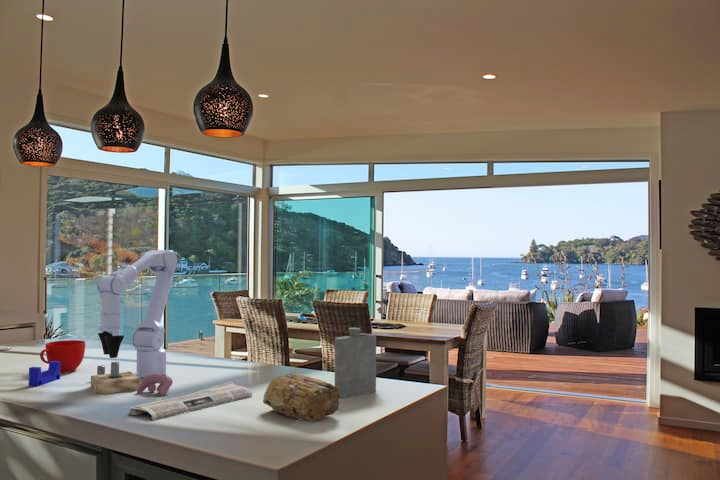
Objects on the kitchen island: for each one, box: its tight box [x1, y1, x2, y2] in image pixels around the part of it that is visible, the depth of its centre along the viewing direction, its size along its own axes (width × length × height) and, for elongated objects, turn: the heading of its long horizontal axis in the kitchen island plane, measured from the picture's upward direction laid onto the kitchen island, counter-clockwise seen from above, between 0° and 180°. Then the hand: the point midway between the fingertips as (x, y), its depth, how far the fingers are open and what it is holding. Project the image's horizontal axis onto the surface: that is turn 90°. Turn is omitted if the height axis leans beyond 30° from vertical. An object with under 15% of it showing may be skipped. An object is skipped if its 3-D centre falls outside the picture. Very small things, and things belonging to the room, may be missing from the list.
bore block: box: [90, 371, 141, 395], centre depth 197 cm, size 12×12×4 cm
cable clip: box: [28, 361, 61, 387], centre depth 205 cm, size 12×4×6 cm, turn 173°
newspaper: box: [129, 380, 253, 421], centre depth 177 cm, size 35×12×4 cm, turn 142°
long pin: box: [110, 361, 120, 378], centre depth 197 cm, size 2×2×8 cm
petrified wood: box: [262, 373, 340, 422], centre depth 166 cm, size 19×13×10 cm
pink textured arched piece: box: [136, 373, 173, 397], centre depth 191 cm, size 10×5×7 cm, turn 72°
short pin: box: [96, 364, 106, 375], centre depth 209 cm, size 2×2×4 cm
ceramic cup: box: [39, 339, 86, 373], centre depth 223 cm, size 13×17×10 cm
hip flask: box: [334, 327, 377, 400], centre depth 191 cm, size 16×4×20 cm, turn 133°
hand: (110, 356), depth 201 cm, fingers open, 7 cm apart
